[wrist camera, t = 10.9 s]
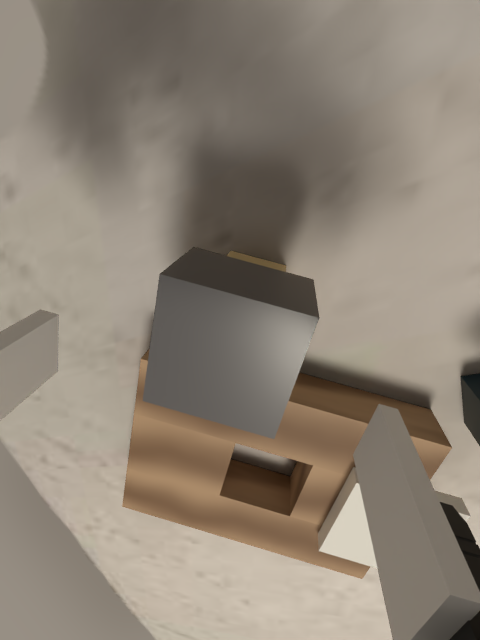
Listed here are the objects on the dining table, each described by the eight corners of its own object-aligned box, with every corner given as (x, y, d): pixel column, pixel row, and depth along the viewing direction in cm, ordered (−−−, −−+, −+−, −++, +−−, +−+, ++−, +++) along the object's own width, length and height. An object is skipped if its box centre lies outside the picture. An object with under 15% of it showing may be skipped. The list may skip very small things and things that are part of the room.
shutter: (353, 466, 25) (361, 508, 22) (461, 498, 25) (485, 545, 22) (317, 533, 29) (320, 578, 25) (412, 562, 28) (426, 610, 25)
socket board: (161, 333, 28) (140, 358, 24) (431, 409, 27) (452, 447, 23) (140, 470, 34) (122, 506, 31) (355, 534, 34) (362, 578, 30)
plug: (217, 228, 24) (159, 274, 14) (309, 253, 23) (319, 317, 13) (200, 312, 26) (142, 400, 16) (282, 335, 26) (274, 439, 16)
